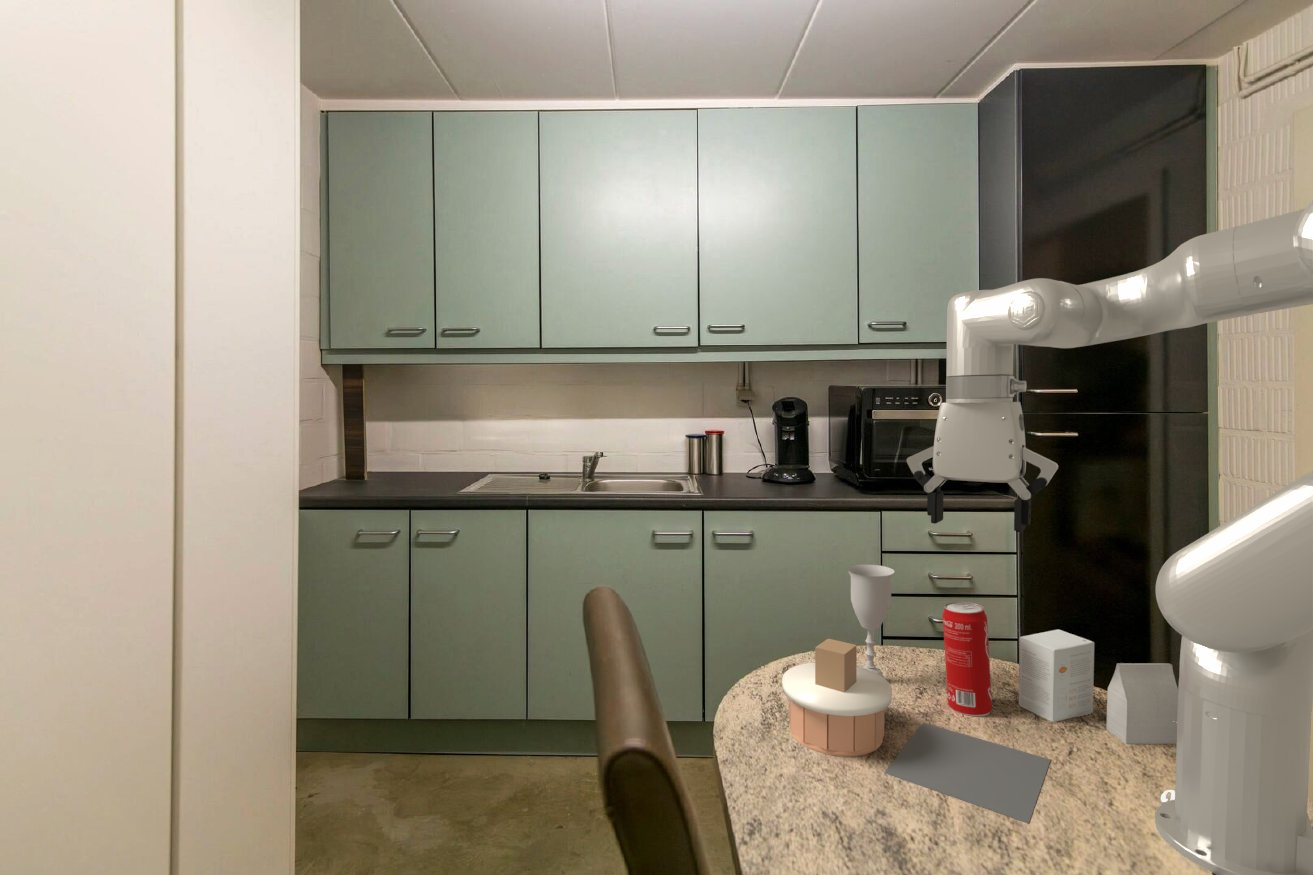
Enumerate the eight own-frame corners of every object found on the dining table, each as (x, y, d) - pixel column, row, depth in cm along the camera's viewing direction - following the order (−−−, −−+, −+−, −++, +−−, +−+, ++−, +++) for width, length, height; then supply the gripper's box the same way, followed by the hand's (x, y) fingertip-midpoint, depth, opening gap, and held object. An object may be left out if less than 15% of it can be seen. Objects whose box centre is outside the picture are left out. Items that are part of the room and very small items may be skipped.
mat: (1050, 762, 79) (1050, 759, 79) (1028, 826, 67) (1028, 822, 67) (923, 725, 88) (923, 722, 88) (884, 775, 76) (884, 772, 76)
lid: (907, 685, 87) (907, 642, 86) (867, 727, 76) (868, 677, 75) (810, 660, 95) (810, 620, 95) (763, 694, 85) (762, 650, 84)
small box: (1057, 697, 96) (1058, 628, 95) (1094, 714, 90) (1096, 641, 90) (1016, 707, 93) (1018, 635, 92) (1052, 725, 88) (1054, 649, 87)
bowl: (895, 729, 87) (896, 686, 86) (862, 770, 77) (862, 721, 77) (813, 704, 94) (813, 664, 94) (773, 738, 85) (773, 694, 85)
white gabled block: (1180, 746, 82) (1182, 669, 81) (1125, 746, 82) (1128, 670, 81) (1158, 731, 85) (1160, 658, 85) (1106, 731, 86) (1108, 658, 85)
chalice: (867, 670, 106) (867, 562, 105) (903, 684, 100) (904, 571, 99) (837, 681, 102) (837, 569, 101) (873, 697, 96) (874, 578, 95)
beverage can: (997, 721, 89) (999, 614, 88) (947, 717, 90) (948, 611, 89) (984, 701, 95) (986, 600, 94) (937, 697, 96) (938, 598, 95)
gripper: (1063, 389, 78) (1060, 528, 79) (917, 392, 89) (916, 515, 90) (1054, 389, 73) (1051, 539, 74) (899, 392, 83) (898, 523, 84)
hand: (976, 525), depth 82 cm, fingers open, 9 cm apart
